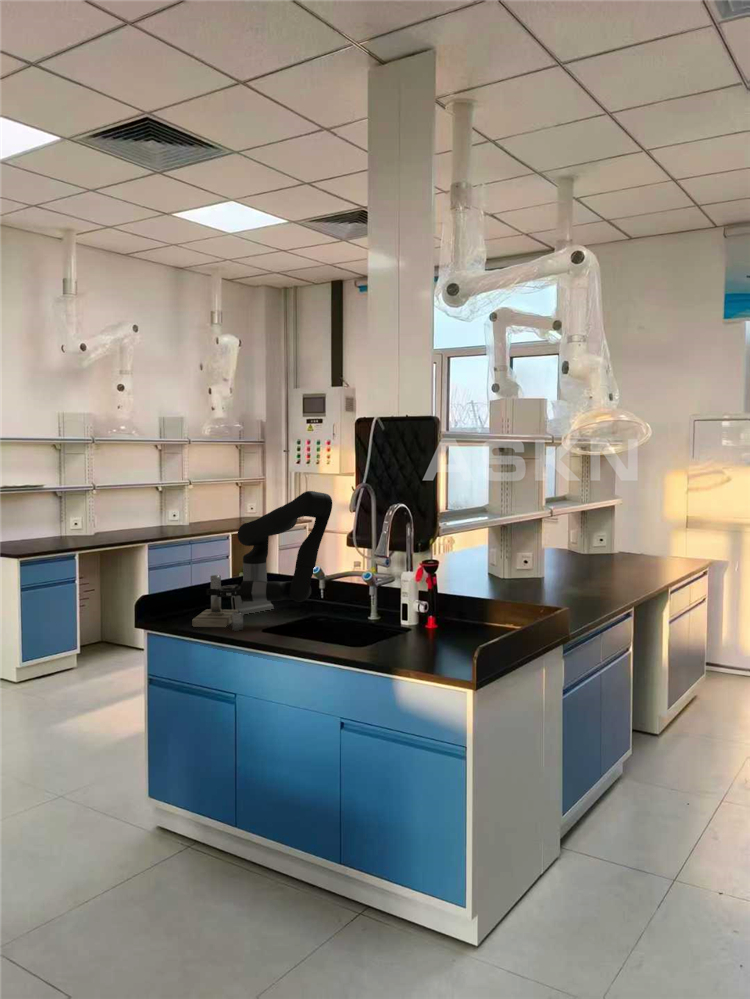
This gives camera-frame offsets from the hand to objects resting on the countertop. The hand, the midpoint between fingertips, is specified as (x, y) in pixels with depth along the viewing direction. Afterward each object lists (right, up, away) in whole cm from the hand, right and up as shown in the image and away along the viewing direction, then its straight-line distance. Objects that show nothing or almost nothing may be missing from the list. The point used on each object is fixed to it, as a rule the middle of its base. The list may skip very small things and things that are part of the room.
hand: (208, 591), depth 283 cm
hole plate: (+3, -11, +1) cm, 11 cm away
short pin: (+13, -12, -13) cm, 22 cm away
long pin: (+3, -7, 0) cm, 8 cm away
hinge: (+13, -10, +19) cm, 25 cm away
